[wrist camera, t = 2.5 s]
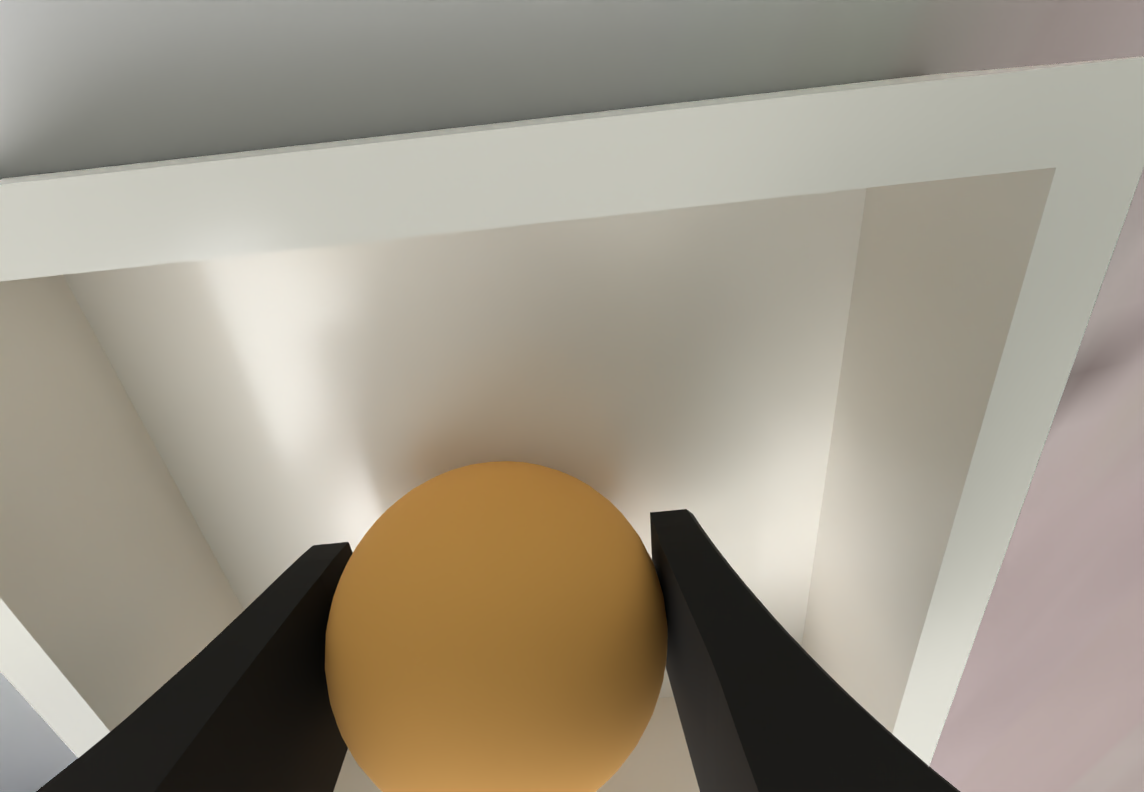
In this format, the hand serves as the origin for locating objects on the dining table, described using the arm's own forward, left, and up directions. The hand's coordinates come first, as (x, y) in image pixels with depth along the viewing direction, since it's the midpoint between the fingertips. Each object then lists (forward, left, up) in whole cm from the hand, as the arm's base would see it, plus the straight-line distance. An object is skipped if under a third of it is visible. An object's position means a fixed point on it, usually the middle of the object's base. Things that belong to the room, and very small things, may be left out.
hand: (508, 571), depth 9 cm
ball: (0, 0, +1) cm, 1 cm away
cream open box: (0, 0, -2) cm, 2 cm away
